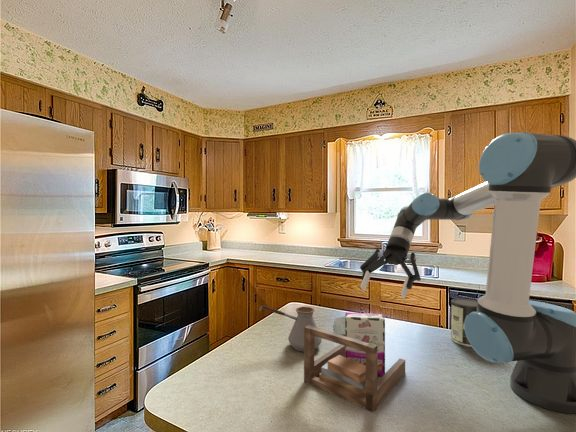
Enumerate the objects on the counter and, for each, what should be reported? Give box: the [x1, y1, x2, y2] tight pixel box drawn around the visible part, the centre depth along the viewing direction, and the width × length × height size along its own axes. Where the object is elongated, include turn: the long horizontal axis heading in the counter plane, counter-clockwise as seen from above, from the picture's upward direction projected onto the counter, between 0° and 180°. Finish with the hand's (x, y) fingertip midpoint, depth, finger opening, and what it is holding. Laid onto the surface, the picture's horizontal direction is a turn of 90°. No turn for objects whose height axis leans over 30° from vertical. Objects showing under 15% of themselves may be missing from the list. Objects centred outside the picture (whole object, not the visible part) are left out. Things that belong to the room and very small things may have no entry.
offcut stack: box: [318, 355, 366, 397], centre depth 83 cm, size 14×7×6 cm, turn 50°
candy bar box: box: [344, 312, 386, 377], centre depth 91 cm, size 11×5×16 cm, turn 81°
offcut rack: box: [303, 325, 406, 413], centre depth 87 cm, size 20×22×15 cm
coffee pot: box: [259, 304, 323, 353], centre depth 106 cm, size 21×12×15 cm, turn 99°
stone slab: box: [332, 315, 345, 336], centre depth 125 cm, size 22×3×10 cm
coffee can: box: [450, 298, 478, 348], centre depth 112 cm, size 10×10×14 cm
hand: (381, 292), depth 101 cm, fingers open, 13 cm apart
